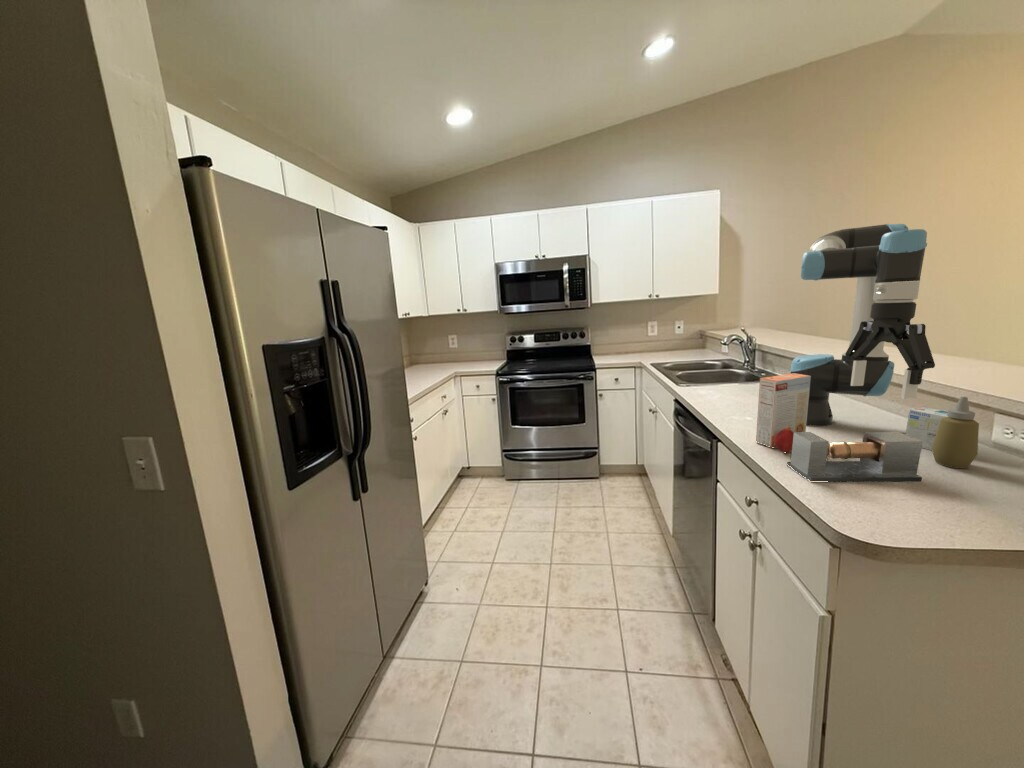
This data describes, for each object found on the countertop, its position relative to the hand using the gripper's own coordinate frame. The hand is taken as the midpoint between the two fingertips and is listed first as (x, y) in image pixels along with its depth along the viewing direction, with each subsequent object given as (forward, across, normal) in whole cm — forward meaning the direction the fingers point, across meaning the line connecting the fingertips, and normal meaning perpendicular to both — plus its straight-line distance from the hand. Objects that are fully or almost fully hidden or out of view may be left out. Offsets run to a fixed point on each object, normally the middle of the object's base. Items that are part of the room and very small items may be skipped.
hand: (880, 391), depth 97 cm
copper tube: (+17, -1, 0) cm, 17 cm away
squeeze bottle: (+22, -4, +25) cm, 33 cm away
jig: (+21, -1, -4) cm, 22 cm away
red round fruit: (+22, -16, -10) cm, 29 cm away
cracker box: (+22, -24, -6) cm, 33 cm away
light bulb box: (+22, -15, +32) cm, 41 cm away
